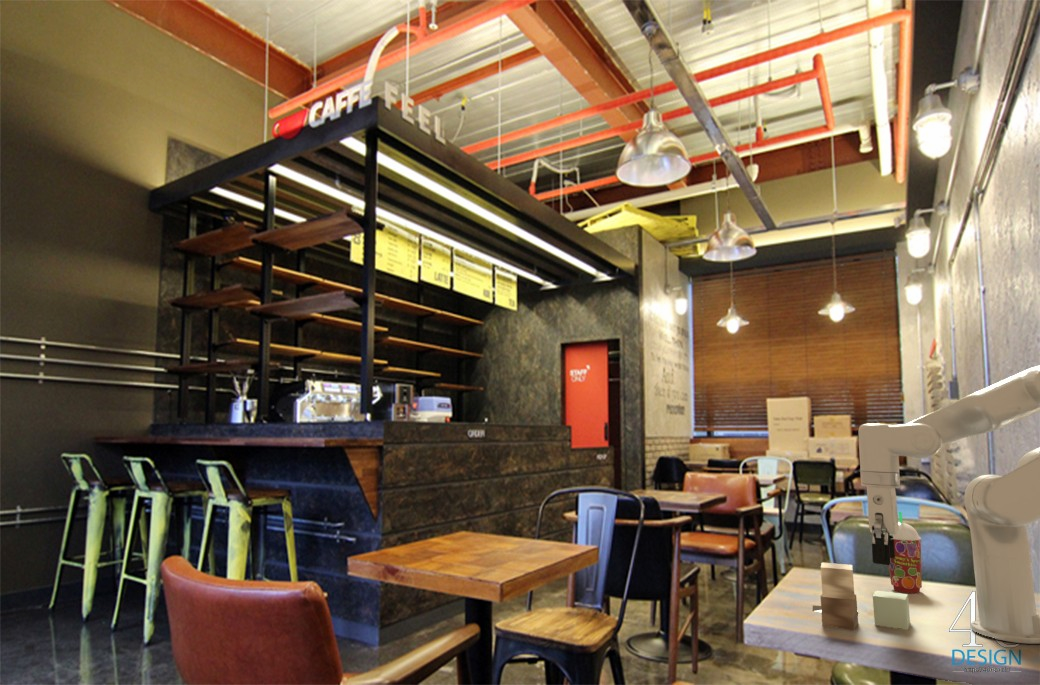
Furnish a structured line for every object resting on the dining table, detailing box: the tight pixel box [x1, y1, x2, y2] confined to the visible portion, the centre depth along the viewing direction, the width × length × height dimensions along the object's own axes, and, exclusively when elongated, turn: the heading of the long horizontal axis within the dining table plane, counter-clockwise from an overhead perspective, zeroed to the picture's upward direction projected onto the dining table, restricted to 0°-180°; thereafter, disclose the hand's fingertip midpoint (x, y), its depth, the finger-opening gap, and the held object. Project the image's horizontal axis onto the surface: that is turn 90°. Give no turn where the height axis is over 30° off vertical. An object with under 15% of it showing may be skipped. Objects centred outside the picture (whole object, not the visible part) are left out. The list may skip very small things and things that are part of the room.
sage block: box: [872, 590, 911, 630], centre depth 136 cm, size 6×6×6 cm
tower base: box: [820, 593, 859, 631], centre depth 135 cm, size 6×6×6 cm
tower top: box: [820, 562, 855, 600], centre depth 136 cm, size 6×6×6 cm
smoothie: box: [888, 511, 923, 594], centre depth 166 cm, size 8×8×20 cm
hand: (884, 560), depth 137 cm, fingers open, 9 cm apart
